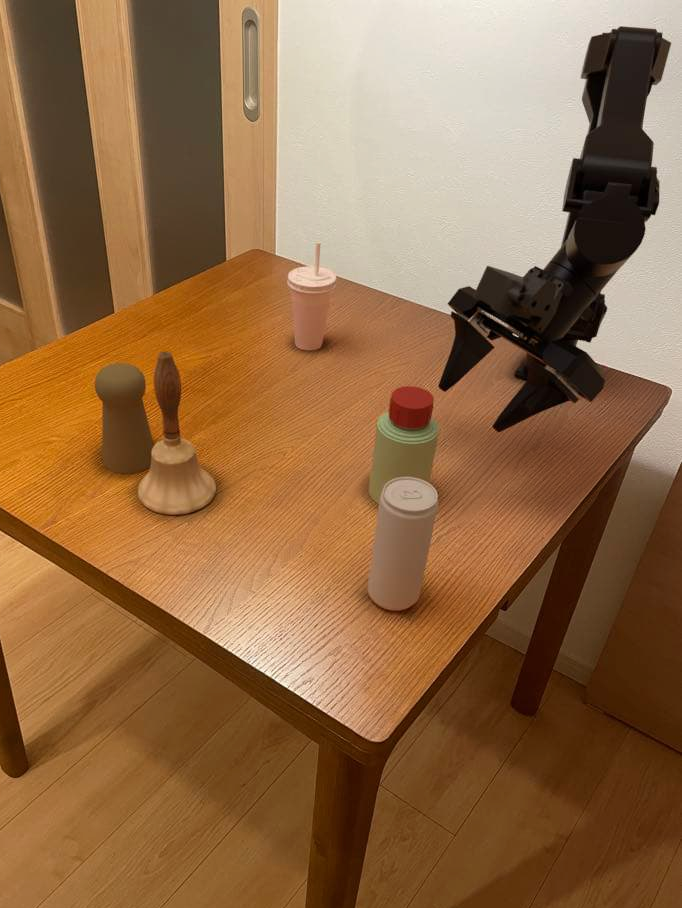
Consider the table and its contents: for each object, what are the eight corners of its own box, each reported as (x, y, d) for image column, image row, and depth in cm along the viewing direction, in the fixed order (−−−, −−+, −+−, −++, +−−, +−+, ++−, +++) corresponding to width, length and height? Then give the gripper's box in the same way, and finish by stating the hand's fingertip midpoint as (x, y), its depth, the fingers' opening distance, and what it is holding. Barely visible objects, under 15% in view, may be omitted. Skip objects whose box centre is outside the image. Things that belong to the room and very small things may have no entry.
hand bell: (121, 496, 84) (102, 360, 73) (172, 458, 89) (161, 326, 78) (182, 526, 80) (172, 388, 70) (231, 485, 86) (228, 350, 75)
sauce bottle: (383, 468, 88) (395, 378, 81) (435, 486, 86) (453, 396, 79) (358, 498, 84) (369, 406, 77) (412, 518, 82) (429, 426, 75)
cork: (165, 448, 90) (158, 361, 83) (141, 478, 86) (131, 389, 79) (117, 437, 92) (106, 351, 84) (91, 466, 87) (77, 378, 80)
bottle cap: (398, 401, 81) (401, 381, 80) (436, 413, 80) (440, 393, 78) (381, 420, 78) (384, 400, 77) (420, 433, 77) (423, 412, 75)
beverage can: (362, 577, 75) (376, 476, 67) (412, 575, 76) (432, 474, 68) (371, 615, 72) (386, 512, 64) (424, 613, 72) (446, 510, 64)
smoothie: (327, 357, 107) (335, 254, 97) (281, 352, 108) (283, 249, 98) (335, 335, 111) (342, 235, 102) (289, 330, 112) (293, 230, 103)
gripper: (471, 206, 79) (373, 336, 83) (608, 267, 66) (484, 418, 70) (523, 266, 87) (431, 383, 91) (655, 332, 74) (541, 465, 78)
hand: (467, 408), depth 82 cm, fingers open, 9 cm apart
